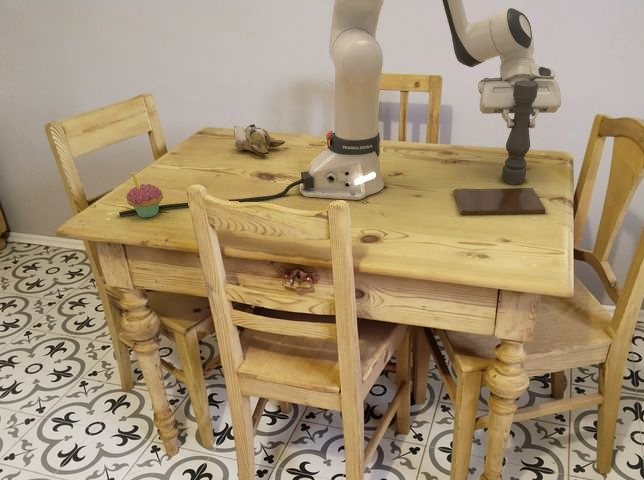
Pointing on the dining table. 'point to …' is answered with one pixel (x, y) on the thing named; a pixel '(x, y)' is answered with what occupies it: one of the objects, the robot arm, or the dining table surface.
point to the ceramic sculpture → (254, 139)
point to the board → (498, 201)
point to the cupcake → (144, 198)
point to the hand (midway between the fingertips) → (521, 127)
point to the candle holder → (519, 132)
